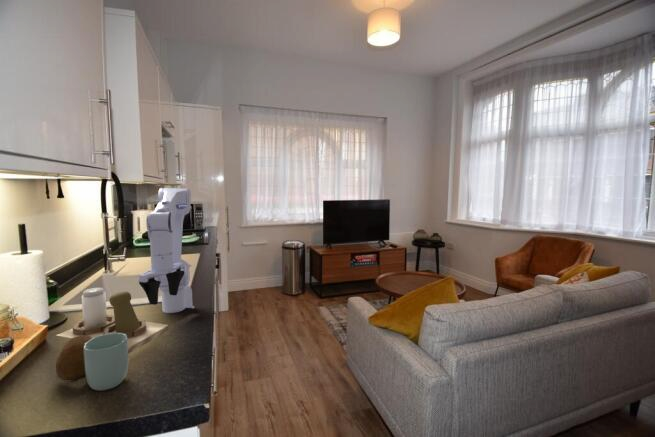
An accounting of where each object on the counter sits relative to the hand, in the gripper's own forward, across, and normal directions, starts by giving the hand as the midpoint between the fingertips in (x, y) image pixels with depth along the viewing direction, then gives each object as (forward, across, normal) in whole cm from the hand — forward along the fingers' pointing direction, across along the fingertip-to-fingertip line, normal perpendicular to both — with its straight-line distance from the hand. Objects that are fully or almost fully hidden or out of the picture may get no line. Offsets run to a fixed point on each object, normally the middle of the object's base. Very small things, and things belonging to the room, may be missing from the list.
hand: (163, 299), depth 90 cm
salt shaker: (+9, -5, +20) cm, 23 cm away
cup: (+11, -23, -6) cm, 26 cm away
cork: (+8, -5, +8) cm, 13 cm away
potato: (+11, -21, +4) cm, 24 cm away
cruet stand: (+10, -5, +13) cm, 17 cm away
